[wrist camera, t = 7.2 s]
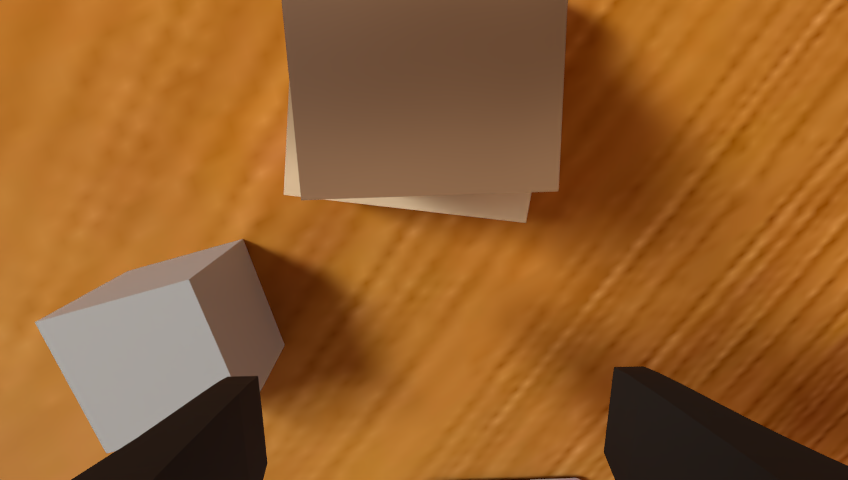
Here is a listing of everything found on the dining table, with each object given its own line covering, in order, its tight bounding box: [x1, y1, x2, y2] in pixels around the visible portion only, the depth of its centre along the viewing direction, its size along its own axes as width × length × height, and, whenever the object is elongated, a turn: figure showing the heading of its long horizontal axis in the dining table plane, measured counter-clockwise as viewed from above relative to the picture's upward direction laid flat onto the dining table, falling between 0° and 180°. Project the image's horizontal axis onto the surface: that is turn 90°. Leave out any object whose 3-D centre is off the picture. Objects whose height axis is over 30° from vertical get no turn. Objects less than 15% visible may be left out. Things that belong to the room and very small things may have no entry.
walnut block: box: [282, 0, 568, 200], centre depth 11 cm, size 5×5×6 cm
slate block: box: [35, 239, 285, 453], centre depth 17 cm, size 5×5×5 cm
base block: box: [284, 81, 532, 223], centre depth 16 cm, size 8×8×4 cm
